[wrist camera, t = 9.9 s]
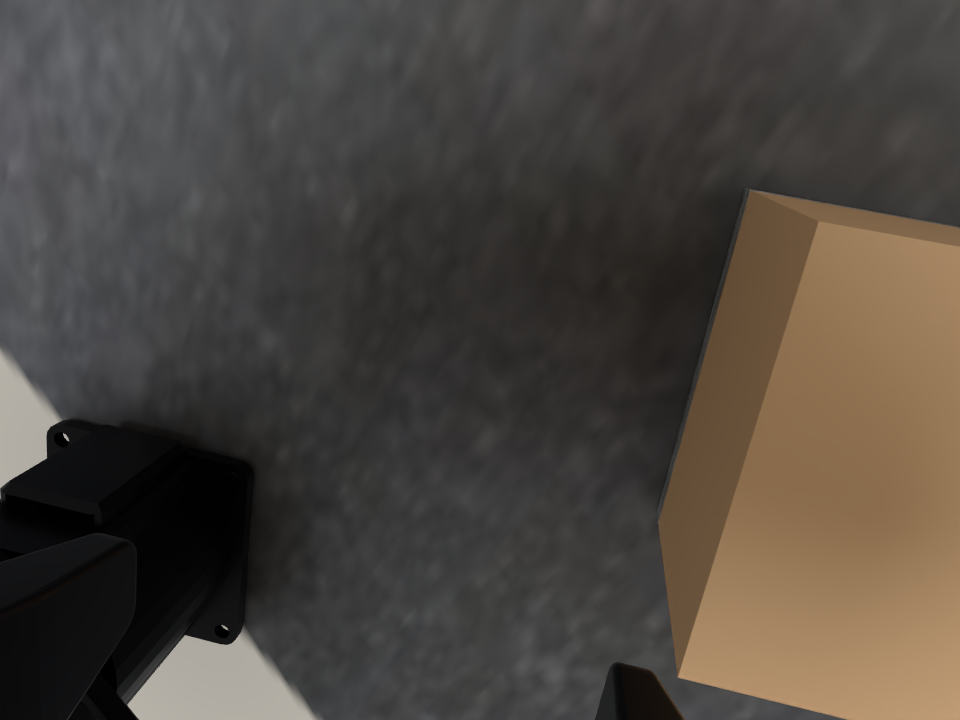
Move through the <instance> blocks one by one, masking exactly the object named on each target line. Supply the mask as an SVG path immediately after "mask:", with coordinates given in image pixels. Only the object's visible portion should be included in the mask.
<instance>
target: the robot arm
mask: <svg viewBox="0 0 960 720" xmlns="http://www.w3.org/2000/svg"><path fill="white" fill-rule="evenodd" d="M63 433H64V434H66V435H67V437H68V438H69V441H67V440H66V439H65V438H64V436H63ZM230 472H233V473H235V474H237V476H238V477H239V479H240V482H237V481H235V480H233V478H232V477H231V475H230ZM253 480H254V476H253V471H252V469H251V467H250V466H249V465H248V464H247V463H246V462H245V461H242V460H240V459H236V458H232V457H228V456H223V455H219V454H215V453H210V452H206V451H202V450H197V449H193V448H189V447H185V446H184V445H183V444H181V443H180V442H178V441H175V440H171V439H166V438H162V437H158V436H153V435H149V434H145V433H140V432H136V431H132V430H127V429H123V428H119V427H114V426H110V425H103V426H101V427H98V426H94V425H89V424H85V423H81V422H76V421H72V420H63V421H61V422H59V423H57V424H55V425H53V426H52V427H50V429H49V430H48V432H47V459H46V460H44V461H42V462H40V463H39V464H37V465H35V466H34V467H32V468H30V469H29V470H27V471H25V472H24V473H22V474H20V475H19V476H17V477H15V478H13V479H12V480H10V481H9V482H7V483H6V484H5V485H4V486H3V487H2V488H1V489H0V493H1V499H0V720H139V719H138V718H137V717H136V716H135V715H134V713H133V712H132V711H131V709H130V708H129V707H128V706H127V704H128V703H129V702H130V701H131V699H132V698H133V697H134V696H135V695H136V693H137V692H138V691H139V690H140V688H141V687H142V686H143V685H144V684H145V683H146V681H147V680H148V679H149V678H150V676H151V675H152V674H153V673H154V672H155V670H156V669H157V668H158V667H159V666H160V664H161V663H162V662H163V661H164V660H165V658H166V657H167V656H168V655H169V654H170V652H171V651H172V650H173V649H174V648H175V646H176V645H177V644H178V643H179V641H180V640H181V639H182V638H183V637H184V635H187V636H191V637H195V638H199V639H203V640H207V641H210V642H214V643H218V644H224V645H228V644H231V643H232V642H233V641H234V640H236V638H237V637H238V635H239V634H240V633H241V630H242V626H243V613H244V600H245V586H246V573H247V560H248V546H249V533H250V520H251V506H252V493H253ZM221 625H224V626H226V627H227V628H228V630H226V629H224V628H223V627H222V626H221ZM595 720H685V719H684V718H683V716H682V714H681V713H680V711H679V710H678V708H677V707H676V705H675V704H674V702H673V701H672V699H671V698H670V696H669V694H668V693H667V691H666V690H665V688H664V687H663V685H662V684H661V682H660V681H659V679H658V678H657V676H656V675H655V674H654V673H653V672H652V671H650V670H648V669H644V668H640V667H636V666H632V665H628V664H624V663H620V662H616V663H614V664H613V665H612V666H611V667H610V669H609V672H608V675H607V678H606V682H605V686H604V689H603V693H602V697H601V700H600V704H599V708H598V711H597V715H596V718H595Z"/></svg>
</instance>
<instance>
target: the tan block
mask: <svg viewBox="0 0 960 720" xmlns="http://www.w3.org/2000/svg"><path fill="white" fill-rule="evenodd" d="M658 526H659V534H660V542H661V549H662V557H663V565H664V573H665V581H666V589H667V596H668V604H669V612H670V620H671V628H672V636H673V643H674V651H675V659H676V667H677V675H678V678H682V679H686V680H690V681H694V682H698V683H702V684H706V685H710V686H714V687H719V688H723V689H727V690H731V691H735V692H739V693H743V694H747V695H751V696H755V697H759V698H763V699H767V700H771V701H775V702H779V703H783V704H787V705H791V706H795V707H799V708H803V709H808V710H812V711H816V712H820V713H824V714H828V715H832V716H836V717H840V718H844V719H848V720H960V228H957V227H952V226H946V225H940V224H935V223H929V222H924V221H918V220H913V219H907V218H901V217H896V216H890V215H885V214H879V213H874V212H868V211H862V210H857V209H851V208H846V207H840V206H835V205H829V204H824V203H818V202H812V201H807V200H801V199H796V198H790V197H785V196H779V195H773V194H768V193H762V192H757V191H751V190H750V194H749V197H748V201H747V205H746V208H745V212H744V215H743V219H742V223H741V226H740V230H739V234H738V237H737V241H736V244H735V248H734V252H733V255H732V259H731V262H730V266H729V270H728V273H727V277H726V281H725V284H724V288H723V291H722V295H721V299H720V302H719V306H718V310H717V313H716V317H715V320H714V324H713V328H712V331H711V335H710V339H709V342H708V346H707V349H706V353H705V357H704V360H703V364H702V368H701V371H700V375H699V378H698V382H697V386H696V389H695V393H694V396H693V400H692V404H691V407H690V411H689V415H688V418H687V422H686V425H685V429H684V433H683V436H682V440H681V444H680V447H679V451H678V454H677V458H676V462H675V465H674V469H673V473H672V476H671V480H670V483H669V487H668V491H667V494H666V498H665V502H664V505H663V509H662V512H661V516H660V520H659V523H658Z"/></svg>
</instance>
